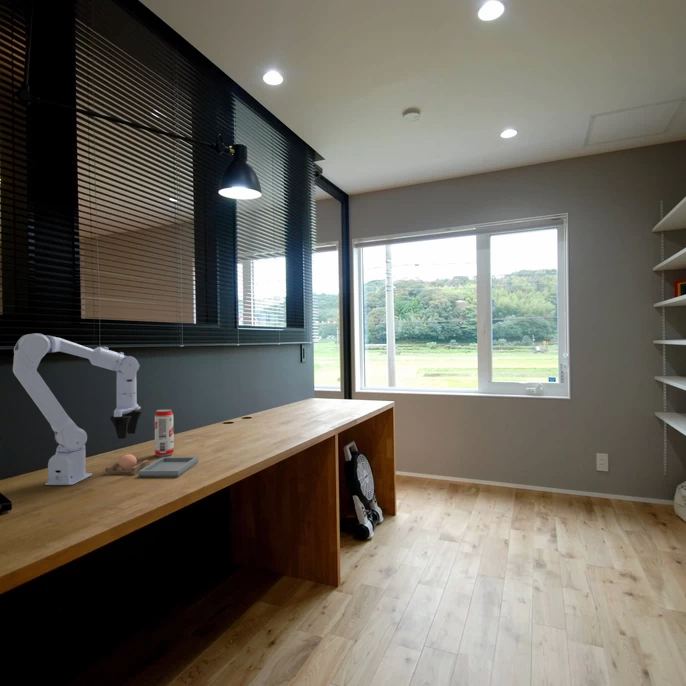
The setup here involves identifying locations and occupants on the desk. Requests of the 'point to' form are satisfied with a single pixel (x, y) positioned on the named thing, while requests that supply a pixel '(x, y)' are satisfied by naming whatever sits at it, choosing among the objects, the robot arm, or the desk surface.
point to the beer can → (164, 432)
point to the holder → (115, 470)
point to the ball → (127, 462)
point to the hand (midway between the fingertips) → (126, 435)
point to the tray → (168, 467)
